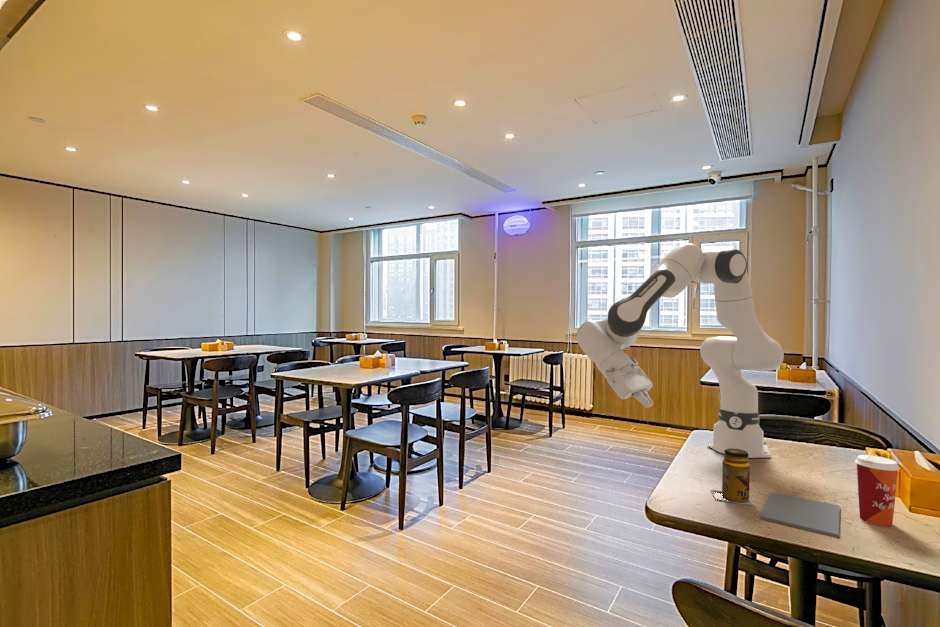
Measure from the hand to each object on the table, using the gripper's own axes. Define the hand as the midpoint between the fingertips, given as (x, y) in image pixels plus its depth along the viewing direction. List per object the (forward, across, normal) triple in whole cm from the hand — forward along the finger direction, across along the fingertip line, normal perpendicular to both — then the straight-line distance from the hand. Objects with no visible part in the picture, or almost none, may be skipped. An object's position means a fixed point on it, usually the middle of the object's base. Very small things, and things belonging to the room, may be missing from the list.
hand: (650, 405), depth 133 cm
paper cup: (+49, +6, -20) cm, 53 cm away
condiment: (+29, 0, 0) cm, 29 cm away
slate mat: (+39, 0, -10) cm, 40 cm away
